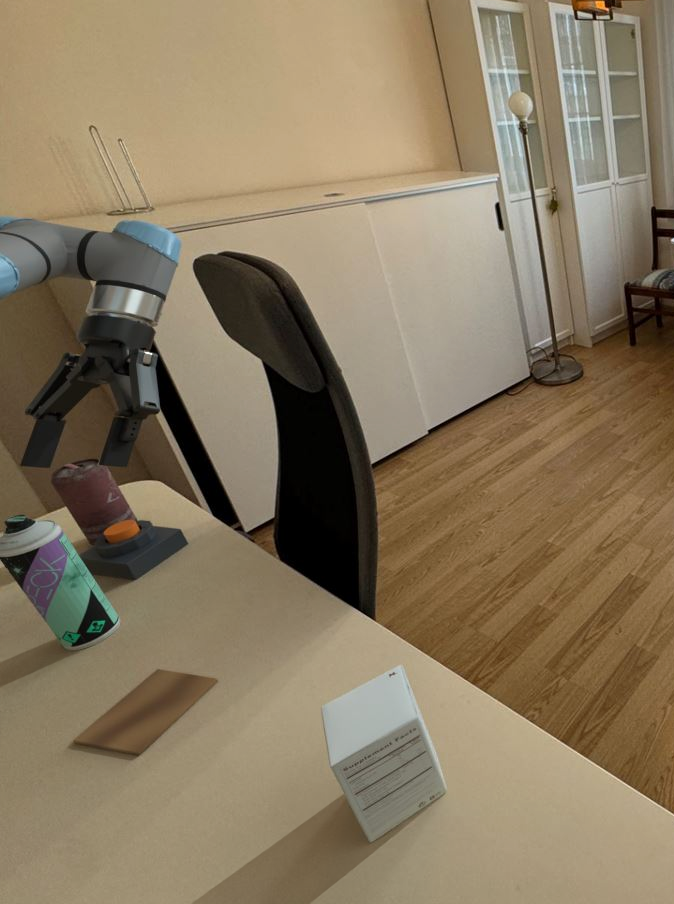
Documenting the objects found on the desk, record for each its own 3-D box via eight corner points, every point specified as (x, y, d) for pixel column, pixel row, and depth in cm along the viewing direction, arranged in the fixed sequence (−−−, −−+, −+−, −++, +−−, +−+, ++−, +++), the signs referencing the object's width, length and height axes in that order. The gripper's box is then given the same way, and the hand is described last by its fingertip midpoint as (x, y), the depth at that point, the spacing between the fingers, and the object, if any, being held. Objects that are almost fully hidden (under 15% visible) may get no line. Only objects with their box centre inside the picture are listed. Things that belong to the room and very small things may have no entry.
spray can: (64, 634, 76) (-18, 520, 68) (120, 610, 80) (47, 498, 72) (64, 658, 73) (-23, 540, 65) (122, 632, 77) (46, 517, 68)
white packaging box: (356, 782, 59) (318, 704, 53) (431, 737, 63) (403, 660, 58) (368, 847, 53) (327, 768, 48) (449, 793, 57) (419, 714, 52)
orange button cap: (102, 542, 86) (96, 534, 86) (128, 527, 90) (123, 518, 89) (121, 545, 86) (115, 536, 85) (146, 529, 89) (141, 520, 88)
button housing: (83, 573, 87) (67, 548, 85) (139, 538, 94) (126, 514, 92) (135, 580, 85) (120, 555, 83) (188, 543, 93) (176, 520, 90)
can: (119, 521, 98) (80, 455, 92) (150, 524, 97) (112, 457, 91) (79, 546, 93) (34, 477, 87) (111, 549, 92) (68, 479, 86)
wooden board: (74, 743, 63) (72, 740, 63) (159, 671, 71) (157, 668, 71) (139, 755, 62) (137, 752, 61) (218, 680, 70) (216, 678, 69)
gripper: (217, 326, 83) (177, 468, 78) (86, 334, 88) (39, 470, 82) (161, 307, 76) (112, 462, 70) (22, 317, 81) (-35, 464, 75)
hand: (73, 466), depth 76 cm, fingers open, 13 cm apart
